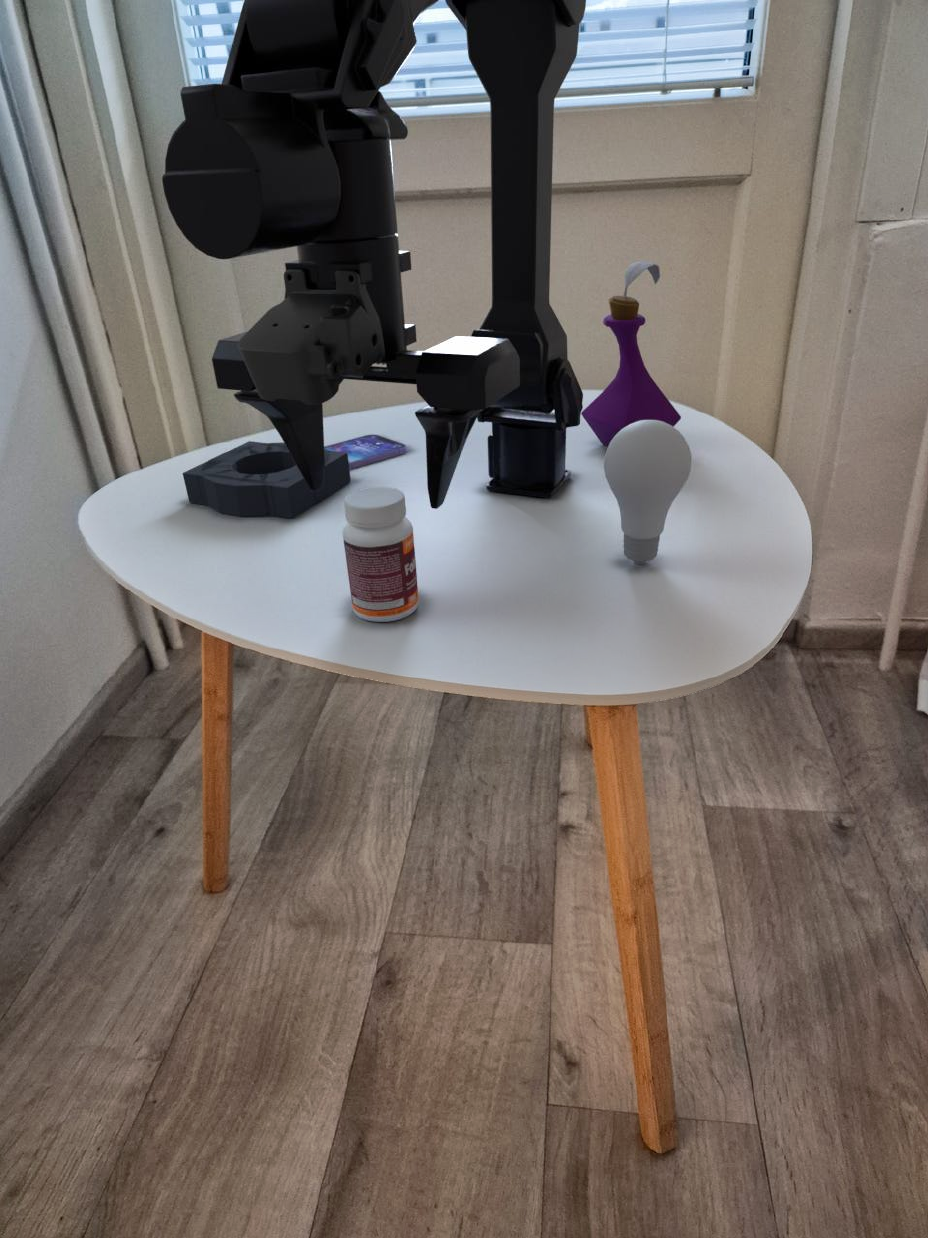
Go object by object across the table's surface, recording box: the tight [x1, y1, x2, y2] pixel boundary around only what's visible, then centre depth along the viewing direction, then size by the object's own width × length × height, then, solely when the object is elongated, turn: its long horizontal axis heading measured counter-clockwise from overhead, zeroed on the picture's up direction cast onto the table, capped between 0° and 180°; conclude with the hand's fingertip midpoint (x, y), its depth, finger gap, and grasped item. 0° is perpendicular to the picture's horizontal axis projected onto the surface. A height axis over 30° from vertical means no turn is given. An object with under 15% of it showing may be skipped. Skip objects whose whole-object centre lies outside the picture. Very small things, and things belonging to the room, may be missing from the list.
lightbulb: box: [603, 420, 693, 565], centre depth 58 cm, size 6×6×11 cm
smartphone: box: [324, 434, 408, 470], centre depth 85 cm, size 7×1×15 cm
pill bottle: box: [342, 486, 420, 623], centre depth 54 cm, size 5×5×8 cm
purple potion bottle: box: [581, 261, 682, 447], centre depth 80 cm, size 8×8×18 cm
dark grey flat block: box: [182, 440, 352, 520], centre depth 77 cm, size 12×12×3 cm
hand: (375, 497), depth 52 cm, fingers open, 9 cm apart
